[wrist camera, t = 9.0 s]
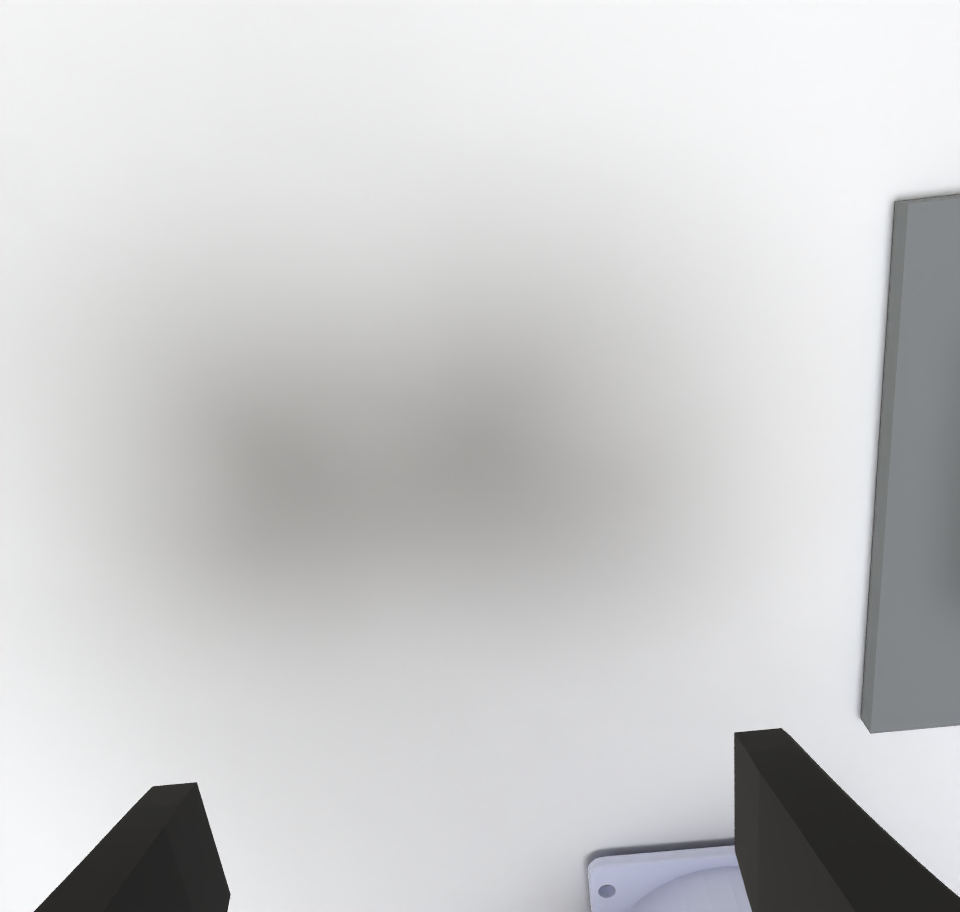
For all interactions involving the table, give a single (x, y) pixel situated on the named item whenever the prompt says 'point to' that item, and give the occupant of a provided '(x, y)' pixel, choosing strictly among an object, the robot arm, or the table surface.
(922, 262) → the charcoal mat
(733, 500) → the table surface
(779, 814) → the robot arm
